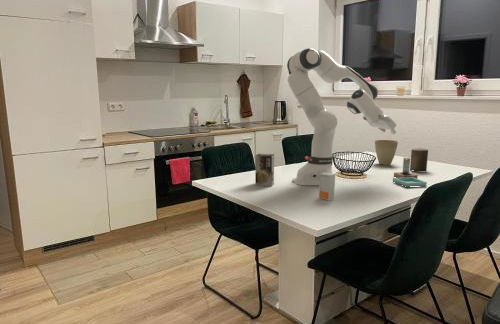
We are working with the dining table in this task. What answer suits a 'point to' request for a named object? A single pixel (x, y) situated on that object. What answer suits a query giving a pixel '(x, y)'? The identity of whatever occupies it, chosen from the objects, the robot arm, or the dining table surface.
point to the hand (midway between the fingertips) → (389, 132)
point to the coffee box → (264, 169)
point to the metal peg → (406, 166)
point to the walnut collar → (400, 175)
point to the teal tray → (409, 181)
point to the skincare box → (326, 186)
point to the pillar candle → (419, 159)
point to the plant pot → (385, 151)
